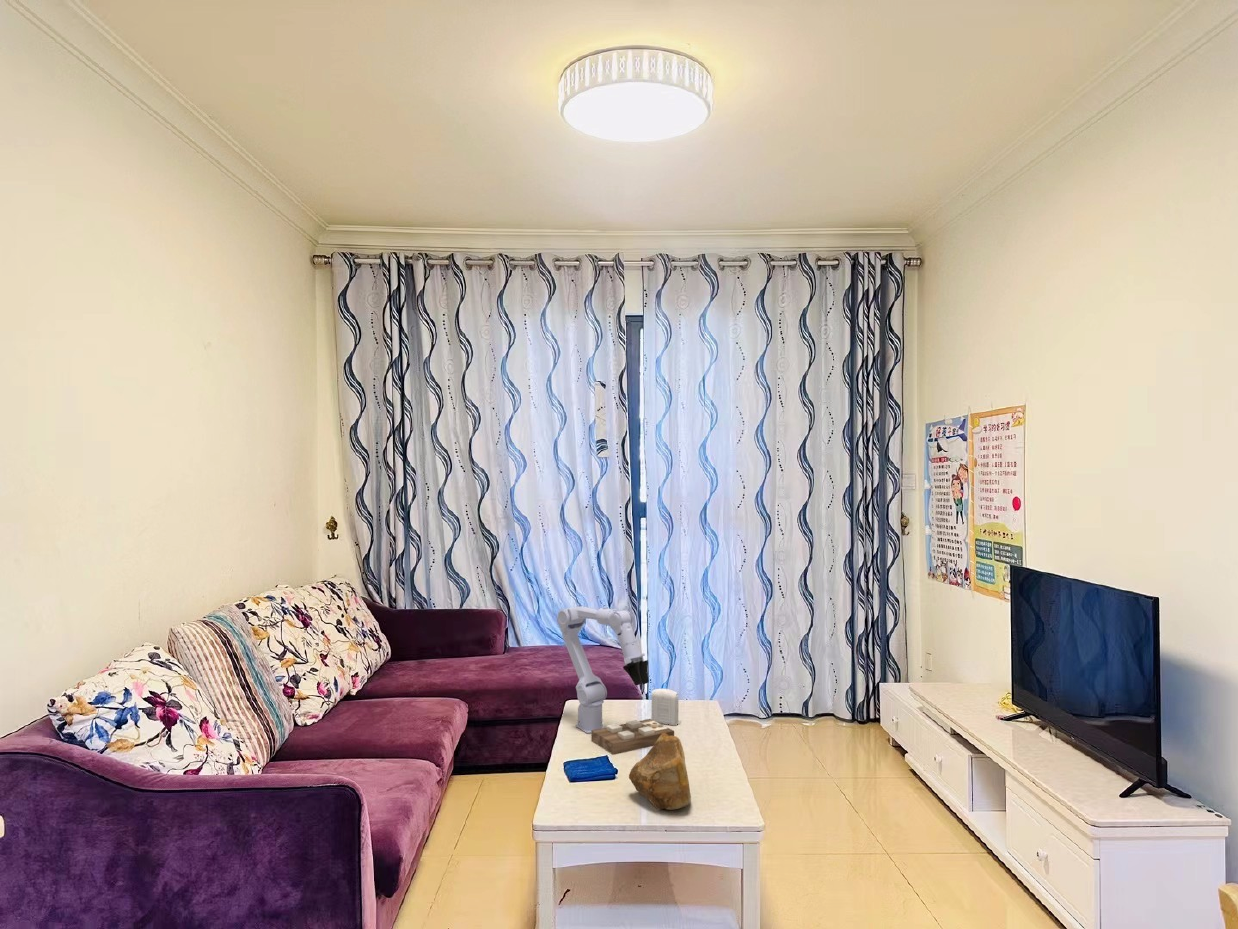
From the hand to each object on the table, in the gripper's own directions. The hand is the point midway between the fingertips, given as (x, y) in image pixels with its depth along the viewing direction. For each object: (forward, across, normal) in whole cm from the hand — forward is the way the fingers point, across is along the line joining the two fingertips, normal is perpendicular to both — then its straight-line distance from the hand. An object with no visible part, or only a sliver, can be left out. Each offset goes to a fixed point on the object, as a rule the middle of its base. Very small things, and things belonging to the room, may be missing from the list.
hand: (642, 684), depth 250 cm
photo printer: (+14, +29, +6) cm, 33 cm away
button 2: (+14, +1, +12) cm, 18 cm away
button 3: (+12, +12, +12) cm, 20 cm away
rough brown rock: (+32, -31, -4) cm, 45 cm away
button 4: (+15, +7, +7) cm, 18 cm away
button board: (+16, +8, +12) cm, 22 cm away
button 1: (+11, +6, +17) cm, 21 cm away
